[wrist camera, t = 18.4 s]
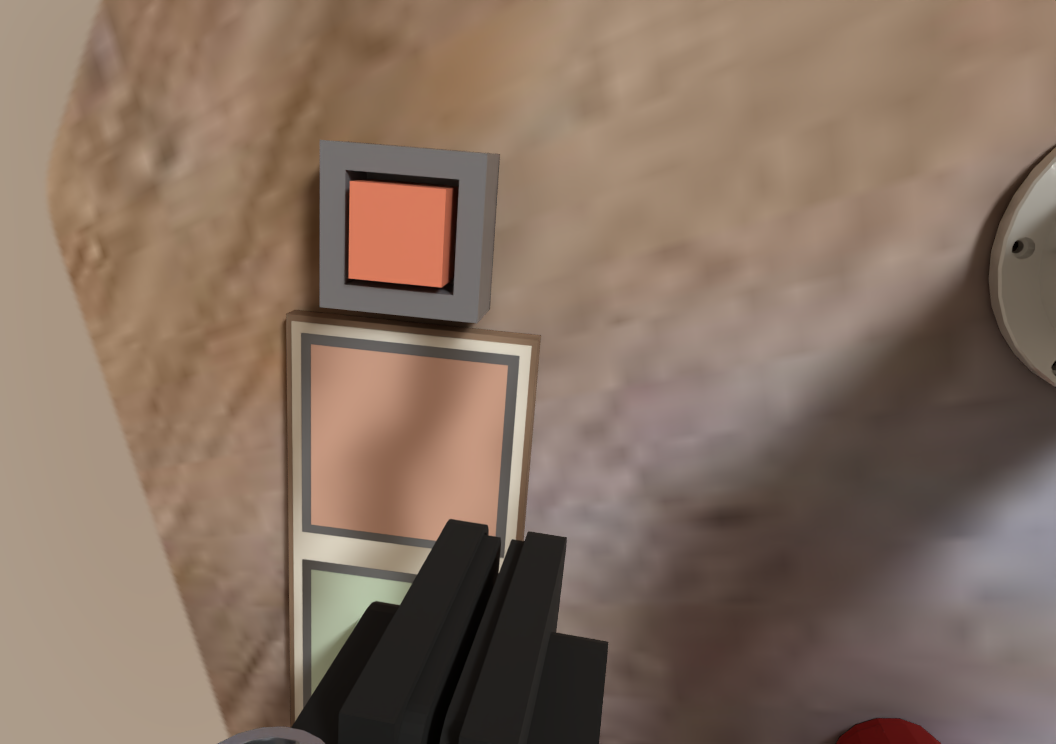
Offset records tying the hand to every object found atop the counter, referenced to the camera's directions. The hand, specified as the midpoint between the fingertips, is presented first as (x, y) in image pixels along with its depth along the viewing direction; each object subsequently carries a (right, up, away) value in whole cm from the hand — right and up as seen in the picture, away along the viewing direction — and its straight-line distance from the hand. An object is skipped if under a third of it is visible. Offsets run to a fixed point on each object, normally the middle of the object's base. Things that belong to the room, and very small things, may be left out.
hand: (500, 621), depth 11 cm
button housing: (-5, +10, +24) cm, 27 cm away
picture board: (-6, -6, +29) cm, 30 cm away
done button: (-5, +10, +24) cm, 26 cm away
